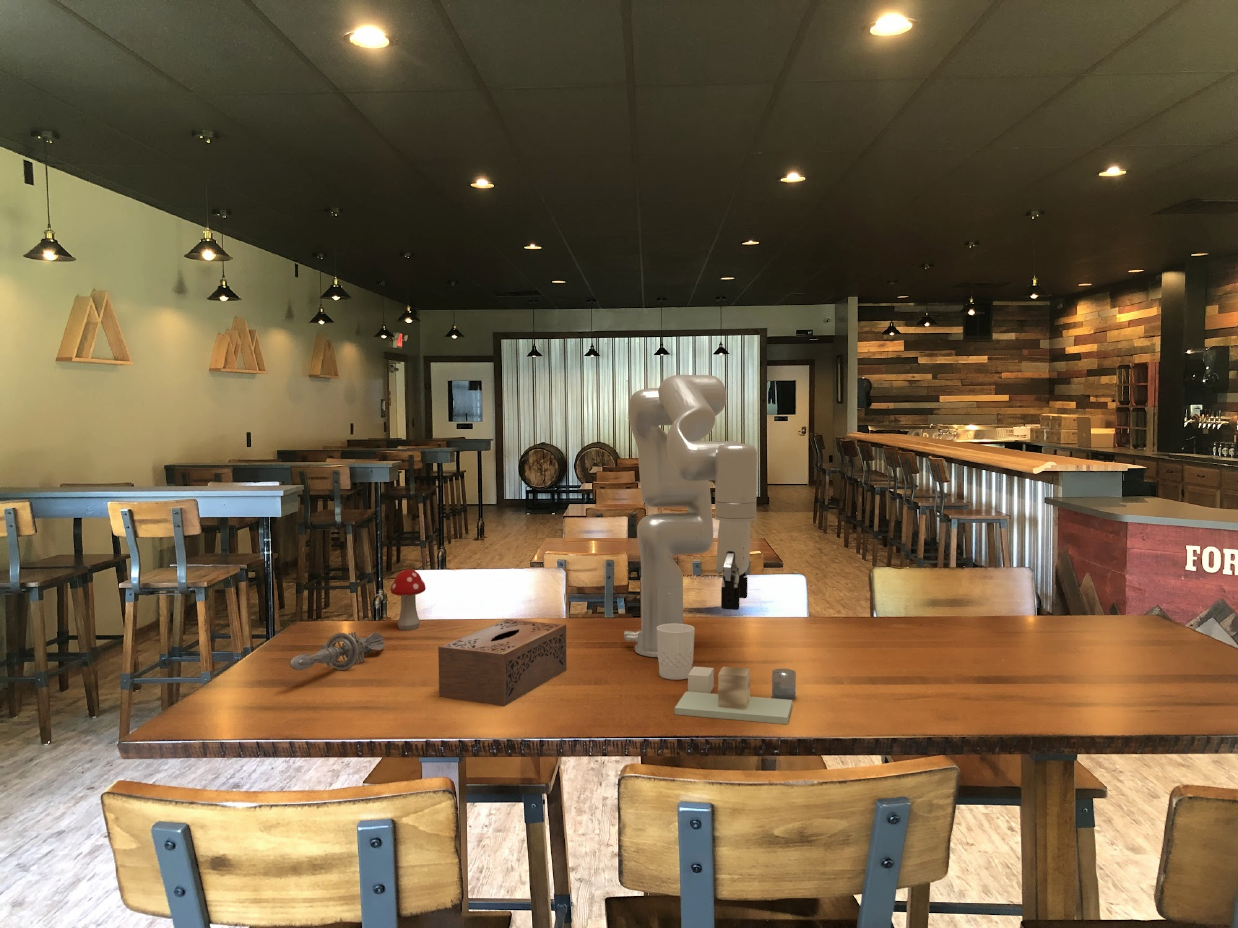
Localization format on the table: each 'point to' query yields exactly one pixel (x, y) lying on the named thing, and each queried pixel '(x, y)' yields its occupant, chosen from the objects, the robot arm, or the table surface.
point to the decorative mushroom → (408, 597)
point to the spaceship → (340, 651)
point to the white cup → (675, 650)
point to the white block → (701, 680)
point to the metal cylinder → (784, 684)
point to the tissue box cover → (502, 661)
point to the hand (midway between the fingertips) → (734, 603)
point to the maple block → (734, 687)
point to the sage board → (755, 711)
